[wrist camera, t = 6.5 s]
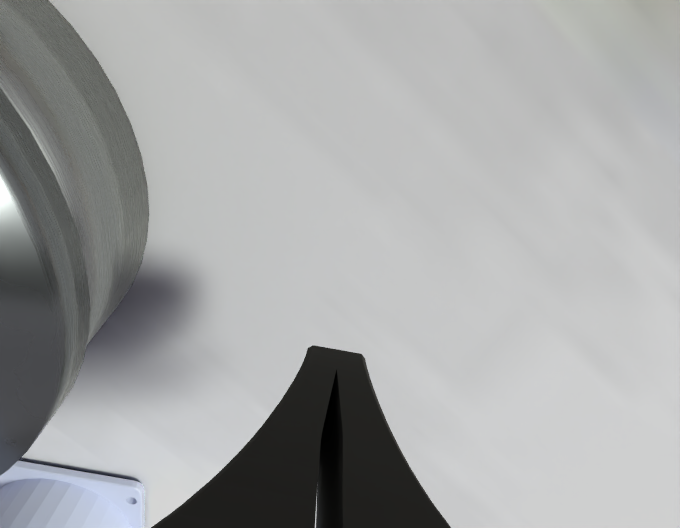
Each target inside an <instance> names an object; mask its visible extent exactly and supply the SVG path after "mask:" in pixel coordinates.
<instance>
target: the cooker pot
mask: <svg viewBox="0 0 680 528" xmlns="http://www.w3.org/2000/svg"><path fill="white" fill-rule="evenodd" d="M0 87H1V89H2V90H3V92H4V93H5V95H6V96H7V98H8V99H9V100H10V102H11V103H12V105H13V106H14V108H15V109H16V110H17V112H18V113H19V115H20V116H21V118H22V119H23V121H24V122H25V123H26V125H27V126H28V128H29V129H30V131H31V133H32V135H33V137H34V138H35V140H36V142H37V144H38V146H39V147H40V149H41V151H42V153H43V155H44V156H45V158H46V160H47V162H48V164H49V165H50V167H51V169H52V171H53V173H54V174H55V176H56V179H57V181H58V184H59V186H60V188H61V191H62V193H63V196H64V198H65V200H66V203H67V205H68V208H69V210H70V212H71V215H72V217H73V220H74V223H75V227H76V230H77V234H78V237H79V241H80V244H81V248H82V252H83V255H84V259H85V264H86V272H87V279H88V286H89V294H90V322H89V335H88V340H87V345H88V343H89V342H90V341H91V339H92V338H93V337H94V336H95V334H96V333H97V332H98V331H99V329H100V328H101V327H102V325H103V324H104V323H105V322H106V320H107V319H108V318H109V317H110V315H111V314H112V313H113V311H114V310H115V309H116V308H117V306H118V305H119V304H120V303H121V301H122V299H123V298H124V296H125V295H126V293H127V292H128V290H129V289H130V287H131V286H132V284H133V282H134V279H135V277H136V275H137V272H138V270H139V268H140V265H141V262H142V258H143V254H144V250H145V246H146V242H147V233H148V221H149V205H148V190H147V182H146V177H145V172H144V167H143V162H142V157H141V153H140V150H139V147H138V144H137V141H136V138H135V135H134V132H133V129H132V126H131V123H130V121H129V119H128V117H127V115H126V112H125V110H124V108H123V106H122V104H121V102H120V99H119V97H118V95H117V93H116V91H115V89H114V88H113V86H112V84H111V83H110V81H109V79H108V78H107V76H106V74H105V73H104V71H103V69H102V68H101V66H100V64H99V62H98V61H97V59H96V58H95V56H94V55H93V54H92V52H91V51H90V50H89V48H88V47H87V46H86V44H85V43H84V42H83V40H82V39H81V38H80V36H79V35H78V34H77V32H76V31H75V30H74V28H73V27H72V26H71V24H70V23H69V22H68V21H67V20H66V19H65V18H64V17H63V16H62V15H61V14H60V12H59V11H58V10H57V9H56V8H55V7H54V6H53V5H52V4H51V3H50V2H49V0H0ZM87 345H86V346H87Z"/></svg>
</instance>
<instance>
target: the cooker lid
mask: <svg viewBox="0 0 680 528" xmlns="http://www.w3.org/2000/svg"><path fill="white" fill-rule="evenodd" d="M89 322H90V294H89V286H88V279H87V272H86V264H85V259H84V255H83V252H82V248H81V244H80V241H79V237H78V234H77V230H76V227H75V223H74V220H73V217H72V215H71V212H70V210H69V208H68V205H67V203H66V200H65V198H64V196H63V193H62V191H61V188H60V186H59V184H58V181H57V179H56V176H55V174H54V173H53V171H52V169H51V167H50V165H49V164H48V162H47V160H46V158H45V156H44V155H43V153H42V151H41V149H40V147H39V146H38V144H37V142H36V140H35V138H34V137H33V135H32V133H31V131H30V129H29V128H28V126H27V125H26V123H25V122H24V121H23V119H22V118H21V116H20V115H19V113H18V112H17V110H16V109H15V108H14V106H13V105H12V103H11V102H10V100H9V99H8V98H7V96H6V95H5V93H4V92H3V90H2V89H1V87H0V475H2V474H3V473H5V472H6V471H8V470H9V469H10V468H11V467H12V466H13V465H14V464H15V463H16V462H17V461H18V460H19V459H20V458H21V457H22V456H23V455H24V454H25V453H26V452H27V451H28V449H29V448H30V447H31V445H32V444H33V443H34V441H35V440H36V439H37V437H38V436H39V434H40V433H41V432H42V430H43V429H44V428H45V426H46V425H47V424H48V422H49V421H50V420H51V418H52V417H53V415H54V414H55V413H56V411H57V410H58V409H59V407H60V406H61V404H62V403H63V401H64V400H65V398H66V396H67V395H68V393H69V392H70V390H71V389H72V387H73V385H74V383H75V380H76V378H77V376H78V373H79V371H80V368H81V366H82V363H83V360H84V355H85V350H86V345H87V340H88V335H89Z"/></svg>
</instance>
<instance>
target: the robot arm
mask: <svg viewBox="0 0 680 528" xmlns="http://www.w3.org/2000/svg"><path fill="white" fill-rule="evenodd" d="M317 482H318V484H317ZM316 496H317V519H316V528H451V527H450V526H449V524H448V523H447V522H446V520H445V519H444V518H443V516H442V515H441V514H440V512H439V511H438V510H437V508H436V507H435V506H434V504H433V503H432V501H431V500H430V498H429V497H428V495H427V494H426V492H425V491H424V489H423V488H422V486H421V485H420V483H419V481H418V480H417V478H416V476H415V475H414V473H413V472H412V470H411V468H410V466H409V465H408V463H407V461H406V459H405V458H404V456H403V454H402V452H401V450H400V448H399V446H398V444H397V442H396V440H395V438H394V436H393V434H392V432H391V430H390V428H389V426H388V423H387V421H386V419H385V416H384V414H383V412H382V409H381V407H380V404H379V402H378V399H377V397H376V394H375V391H374V389H373V386H372V383H371V380H370V377H369V373H368V370H367V366H366V362H365V358H364V357H363V355H362V354H359V353H353V352H347V351H342V350H336V349H330V348H325V347H319V346H311V347H309V348H308V350H307V354H306V357H305V359H304V362H303V364H302V366H301V368H300V370H299V372H298V374H297V375H296V377H295V379H294V381H293V382H292V384H291V386H290V387H289V389H288V390H287V392H286V394H285V395H284V397H283V398H282V400H281V401H280V403H279V404H278V405H277V407H276V408H275V410H274V411H273V412H272V414H271V415H270V416H269V418H268V419H267V420H266V422H265V423H264V424H263V425H262V427H261V428H260V429H259V430H258V432H257V433H256V434H255V435H254V436H253V437H252V439H251V440H250V441H249V442H248V443H247V444H246V445H245V446H244V448H243V449H242V450H241V451H240V452H239V453H238V454H237V455H236V456H235V457H234V458H233V459H232V460H231V461H230V462H229V463H228V464H227V465H226V466H225V467H224V468H223V469H222V470H221V471H220V472H219V473H218V474H217V475H216V476H215V477H214V478H213V479H212V480H210V481H209V482H208V483H207V484H206V485H205V486H203V487H202V488H201V489H200V490H199V491H198V492H196V493H195V494H194V495H193V496H192V497H191V498H189V499H188V500H187V501H186V502H185V503H183V504H182V505H181V506H180V507H179V508H177V509H176V510H175V511H173V512H172V513H171V514H169V515H168V516H167V517H165V518H164V519H162V520H161V521H160V522H158V523H157V524H156V525H154V526H153V527H151V528H315V511H316ZM144 514H145V489H144V486H143V485H142V484H141V483H140V482H138V481H134V480H128V479H122V478H117V477H111V476H105V475H99V474H93V473H88V472H82V471H76V470H70V469H64V468H59V467H53V466H47V465H41V464H35V463H30V462H24V461H17V462H16V463H15V464H14V465H13V466H12V467H11V468H10V469H9V470H8V471H6V472H5V473H3V474H2V475H0V528H144Z"/></svg>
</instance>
